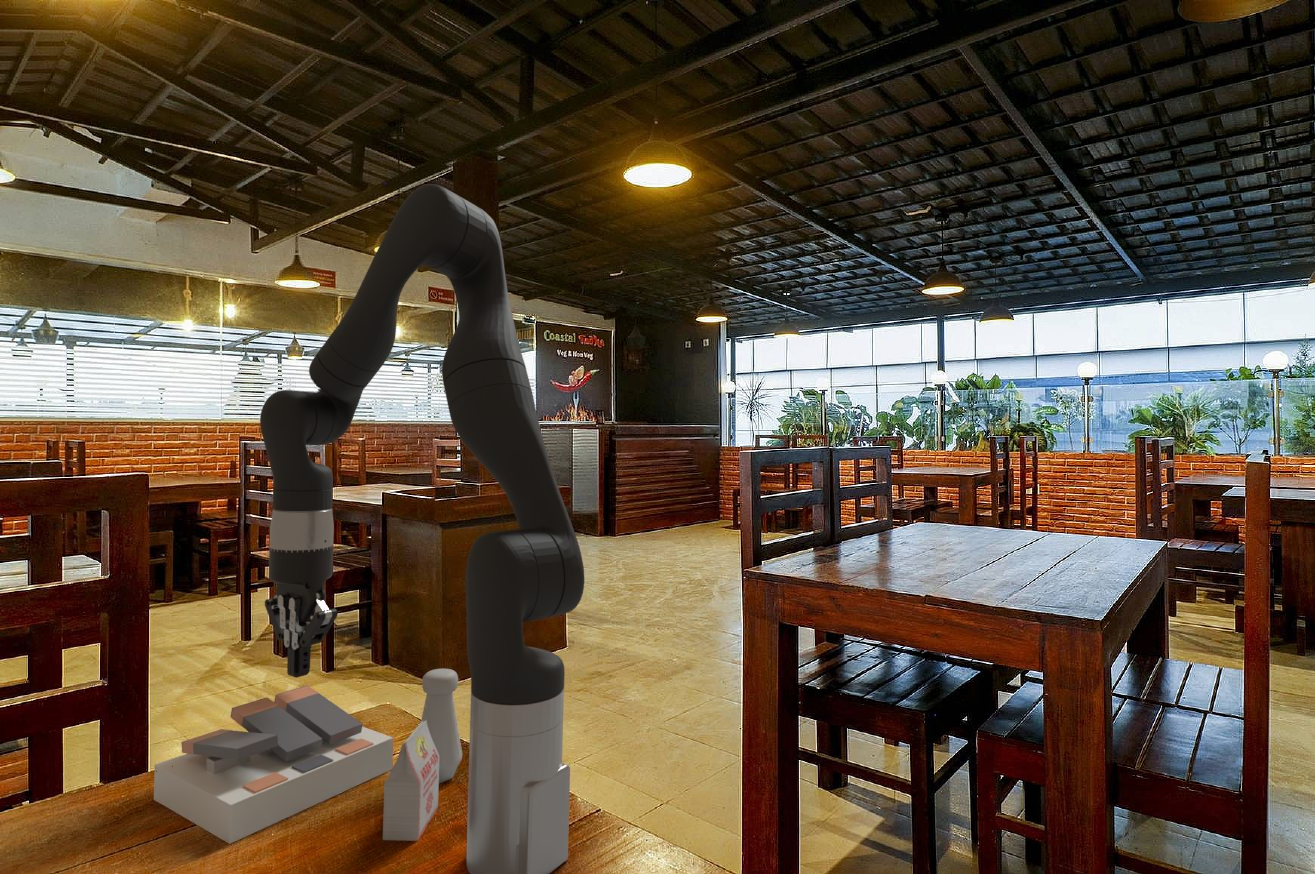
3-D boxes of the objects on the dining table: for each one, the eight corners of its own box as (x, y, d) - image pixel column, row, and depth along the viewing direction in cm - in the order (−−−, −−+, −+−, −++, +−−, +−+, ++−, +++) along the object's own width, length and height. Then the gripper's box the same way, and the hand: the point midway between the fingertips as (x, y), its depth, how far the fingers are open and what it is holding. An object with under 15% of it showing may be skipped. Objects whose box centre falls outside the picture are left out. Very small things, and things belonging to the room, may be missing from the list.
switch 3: (361, 732, 90) (362, 723, 90) (329, 745, 86) (330, 735, 86) (306, 693, 96) (307, 685, 96) (274, 703, 92) (275, 694, 92)
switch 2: (321, 748, 85) (322, 738, 85) (285, 762, 82) (287, 752, 81) (265, 706, 91) (267, 697, 91) (230, 717, 88) (231, 707, 88)
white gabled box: (382, 840, 75) (385, 744, 75) (405, 806, 81) (408, 719, 82) (417, 841, 75) (420, 745, 75) (438, 807, 81) (440, 720, 82)
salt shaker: (453, 788, 86) (456, 680, 86) (406, 786, 86) (409, 678, 86) (467, 766, 92) (469, 665, 92) (423, 764, 92) (425, 663, 92)
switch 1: (278, 746, 80) (277, 734, 81) (238, 760, 77) (237, 748, 77) (221, 739, 87) (220, 729, 87) (182, 752, 83) (181, 741, 83)
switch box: (392, 769, 90) (393, 726, 90) (229, 844, 73) (231, 791, 73) (315, 738, 99) (316, 699, 99) (153, 799, 81) (154, 752, 81)
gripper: (359, 545, 93) (355, 677, 93) (299, 535, 100) (295, 658, 100) (305, 552, 87) (301, 694, 87) (245, 541, 94) (241, 672, 94)
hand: (298, 674), depth 94 cm, fingers closed
